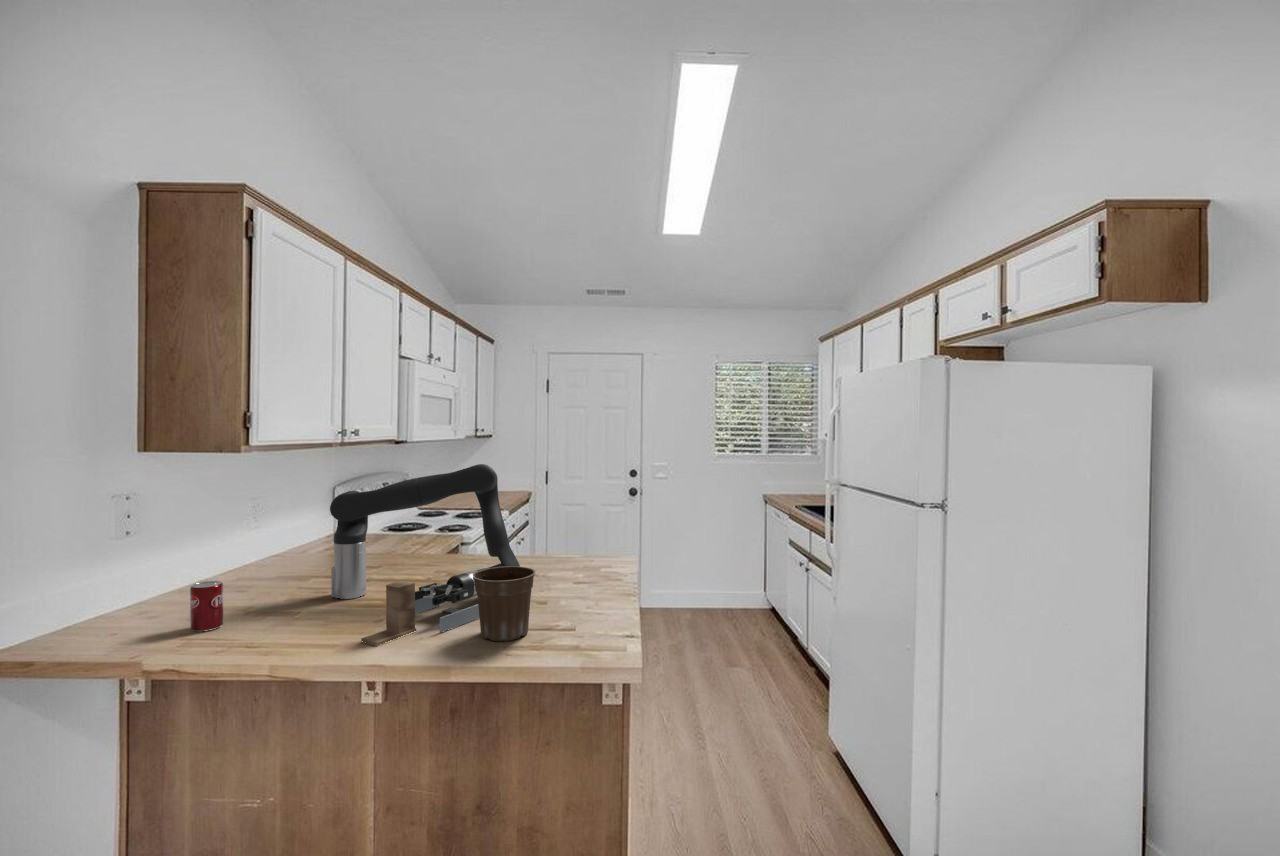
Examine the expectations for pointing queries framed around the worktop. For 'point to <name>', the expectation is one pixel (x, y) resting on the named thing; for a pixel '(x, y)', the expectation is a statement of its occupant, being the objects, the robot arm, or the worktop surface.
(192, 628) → the soda can
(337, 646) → the worktop surface
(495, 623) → the plant pot
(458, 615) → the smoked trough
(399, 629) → the walnut post stand
